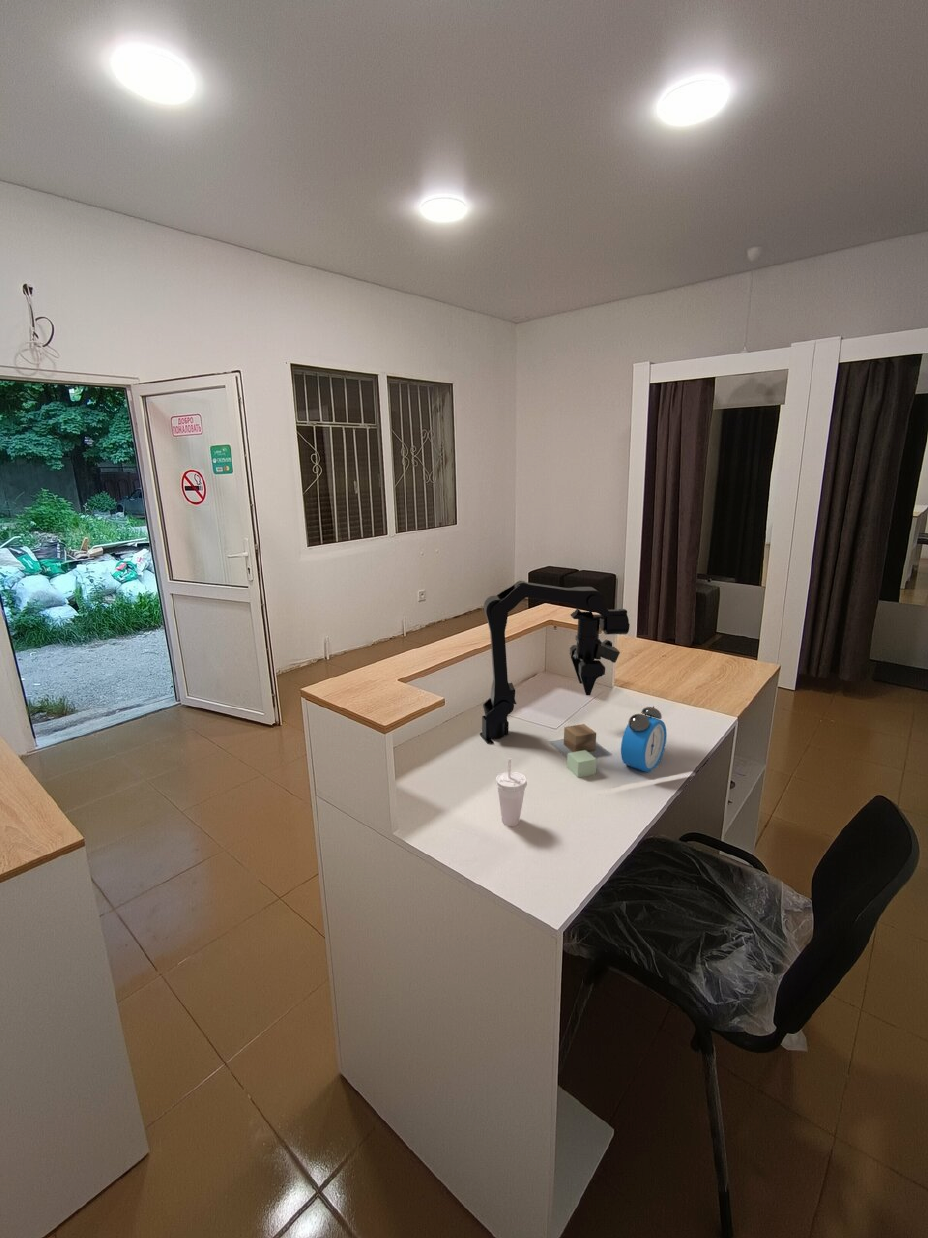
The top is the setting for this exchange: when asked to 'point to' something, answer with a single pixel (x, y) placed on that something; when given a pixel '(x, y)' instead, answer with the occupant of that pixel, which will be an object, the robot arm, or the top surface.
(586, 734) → the walnut block
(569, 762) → the sage cube
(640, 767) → the alarm clock
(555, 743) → the mat
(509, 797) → the smoothie
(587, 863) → the top surface
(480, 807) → the top surface
